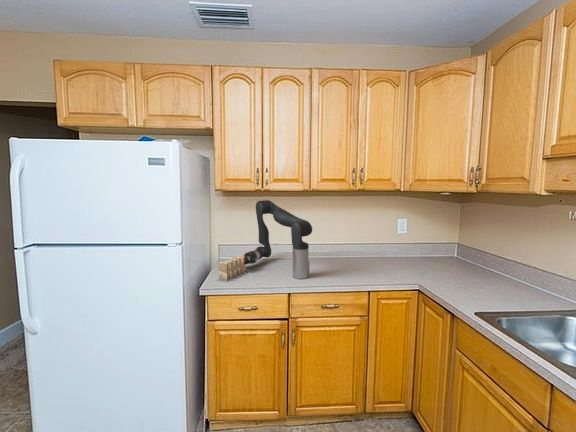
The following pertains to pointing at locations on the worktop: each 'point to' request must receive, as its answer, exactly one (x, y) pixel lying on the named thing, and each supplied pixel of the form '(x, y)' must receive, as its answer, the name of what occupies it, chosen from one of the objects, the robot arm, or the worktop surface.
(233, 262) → the maple domino
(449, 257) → the worktop surface
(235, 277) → the mat
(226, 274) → the maple domino
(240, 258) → the maple domino
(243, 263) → the terracotta domino
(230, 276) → the maple domino
